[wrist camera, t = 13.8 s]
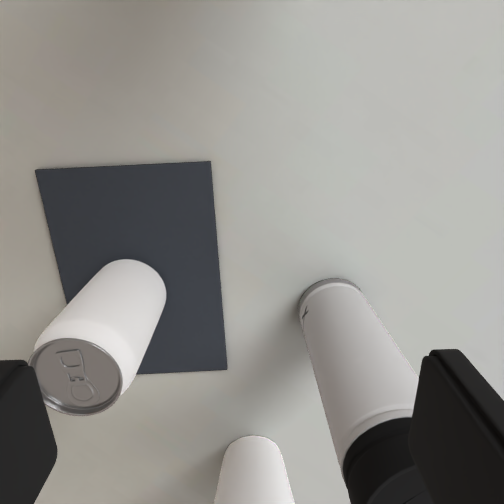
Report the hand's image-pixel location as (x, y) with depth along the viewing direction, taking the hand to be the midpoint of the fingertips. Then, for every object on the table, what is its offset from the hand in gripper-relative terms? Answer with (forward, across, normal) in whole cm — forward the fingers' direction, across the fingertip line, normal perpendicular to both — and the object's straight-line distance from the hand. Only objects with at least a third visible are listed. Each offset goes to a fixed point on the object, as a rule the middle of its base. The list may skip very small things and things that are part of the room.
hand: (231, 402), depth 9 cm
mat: (+23, +9, +8) cm, 26 cm away
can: (+23, +10, +9) cm, 27 cm away
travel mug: (+24, -8, +11) cm, 27 cm away
